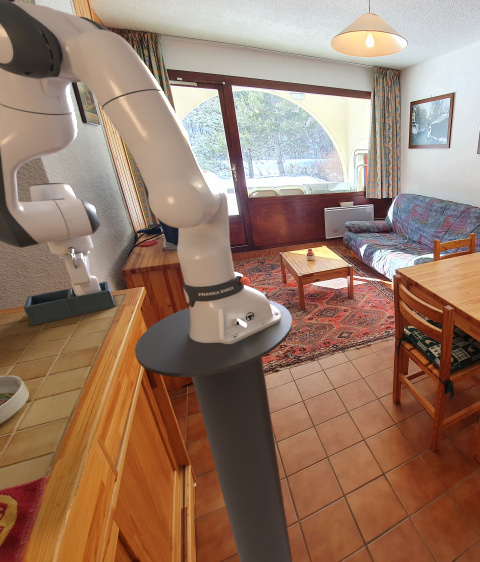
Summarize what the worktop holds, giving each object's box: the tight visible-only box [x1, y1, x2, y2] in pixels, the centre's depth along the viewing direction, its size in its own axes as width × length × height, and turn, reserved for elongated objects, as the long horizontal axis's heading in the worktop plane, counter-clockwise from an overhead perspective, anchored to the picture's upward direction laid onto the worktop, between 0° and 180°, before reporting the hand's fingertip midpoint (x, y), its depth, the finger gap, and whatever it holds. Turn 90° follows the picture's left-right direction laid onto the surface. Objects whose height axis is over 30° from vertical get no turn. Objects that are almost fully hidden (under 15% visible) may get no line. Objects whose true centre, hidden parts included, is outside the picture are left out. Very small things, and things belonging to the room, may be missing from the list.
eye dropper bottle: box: [70, 275, 101, 296], centre depth 90 cm, size 4×6×12 cm
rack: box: [23, 281, 116, 326], centre depth 89 cm, size 17×9×5 cm, turn 131°
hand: (87, 289), depth 91 cm, fingers closed on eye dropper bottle, 4 cm apart
